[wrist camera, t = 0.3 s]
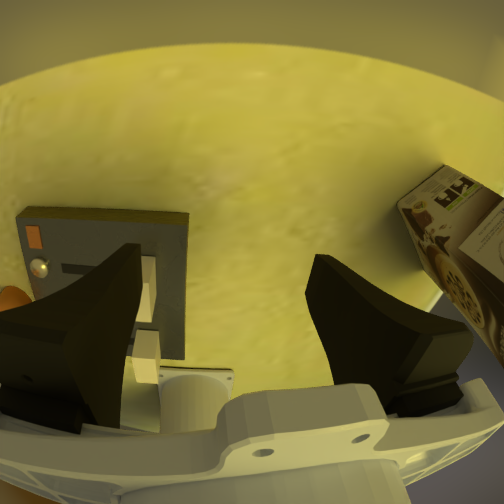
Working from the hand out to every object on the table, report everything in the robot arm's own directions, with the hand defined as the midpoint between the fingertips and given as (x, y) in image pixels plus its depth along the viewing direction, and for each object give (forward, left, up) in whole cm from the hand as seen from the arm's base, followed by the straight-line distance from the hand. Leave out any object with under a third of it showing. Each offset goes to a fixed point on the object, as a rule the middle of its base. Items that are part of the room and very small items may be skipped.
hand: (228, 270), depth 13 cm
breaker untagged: (-13, +5, -8) cm, 16 cm away
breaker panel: (-8, +8, -10) cm, 15 cm away
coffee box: (0, -19, -10) cm, 21 cm away
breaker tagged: (-6, +5, -8) cm, 11 cm away
